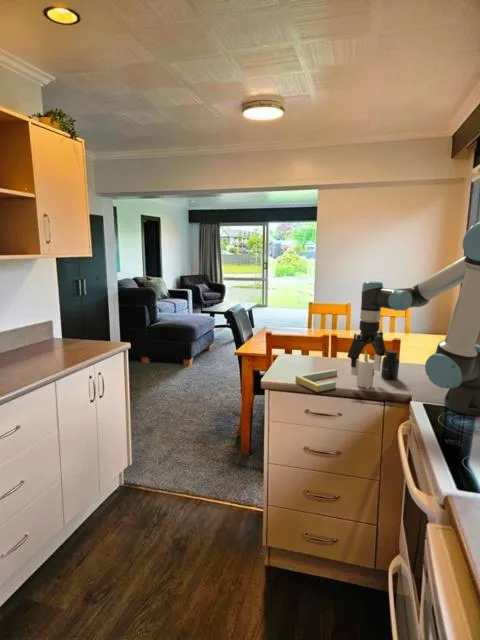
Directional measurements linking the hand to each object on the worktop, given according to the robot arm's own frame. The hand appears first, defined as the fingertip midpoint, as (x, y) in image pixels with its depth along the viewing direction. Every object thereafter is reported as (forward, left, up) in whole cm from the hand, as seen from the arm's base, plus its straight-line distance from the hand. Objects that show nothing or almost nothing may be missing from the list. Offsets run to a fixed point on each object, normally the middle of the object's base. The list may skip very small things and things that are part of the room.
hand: (365, 372), depth 165 cm
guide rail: (+10, +11, -5) cm, 16 cm away
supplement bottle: (+2, -17, -6) cm, 18 cm away
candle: (0, 0, -6) cm, 6 cm away
